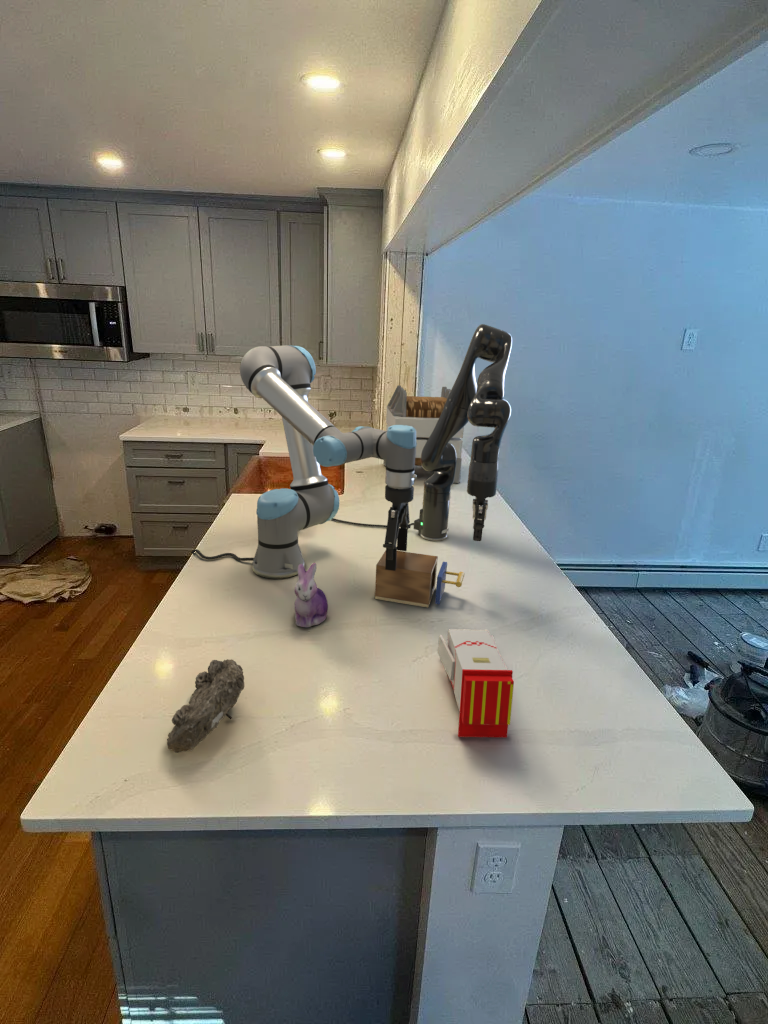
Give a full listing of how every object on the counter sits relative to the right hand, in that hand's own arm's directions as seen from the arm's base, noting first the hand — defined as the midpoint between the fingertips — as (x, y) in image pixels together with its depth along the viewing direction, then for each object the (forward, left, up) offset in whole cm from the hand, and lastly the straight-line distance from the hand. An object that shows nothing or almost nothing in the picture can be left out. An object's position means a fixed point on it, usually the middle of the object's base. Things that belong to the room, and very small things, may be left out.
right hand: (477, 534), depth 152 cm
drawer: (-9, -8, -18) cm, 21 cm away
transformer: (-78, +97, -19) cm, 126 cm away
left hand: (-18, -12, -9) cm, 23 cm away
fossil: (-16, -76, -19) cm, 80 cm away
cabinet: (-15, -10, -19) cm, 26 cm away
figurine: (-26, -37, -19) cm, 49 cm away
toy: (+19, -38, -19) cm, 47 cm away
